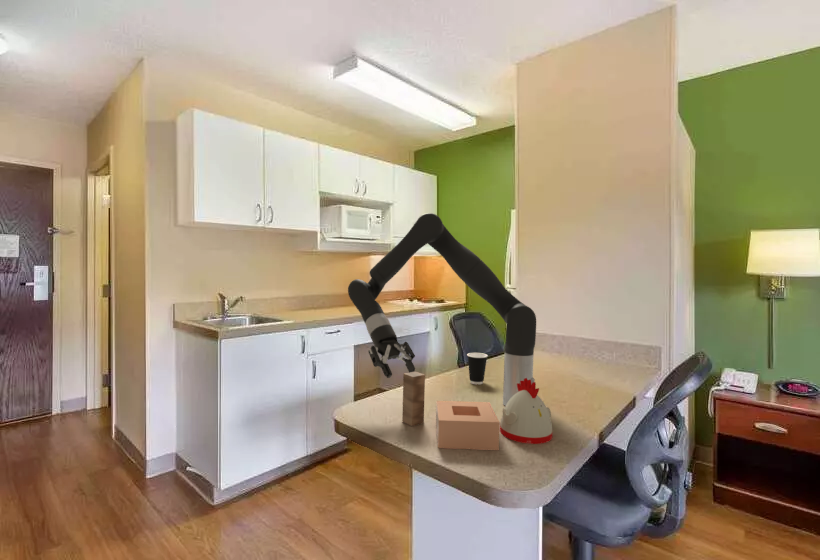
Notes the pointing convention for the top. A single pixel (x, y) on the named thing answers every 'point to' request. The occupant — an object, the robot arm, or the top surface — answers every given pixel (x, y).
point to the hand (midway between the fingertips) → (401, 374)
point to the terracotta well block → (466, 425)
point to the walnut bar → (413, 398)
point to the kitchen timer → (526, 416)
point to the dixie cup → (477, 367)
